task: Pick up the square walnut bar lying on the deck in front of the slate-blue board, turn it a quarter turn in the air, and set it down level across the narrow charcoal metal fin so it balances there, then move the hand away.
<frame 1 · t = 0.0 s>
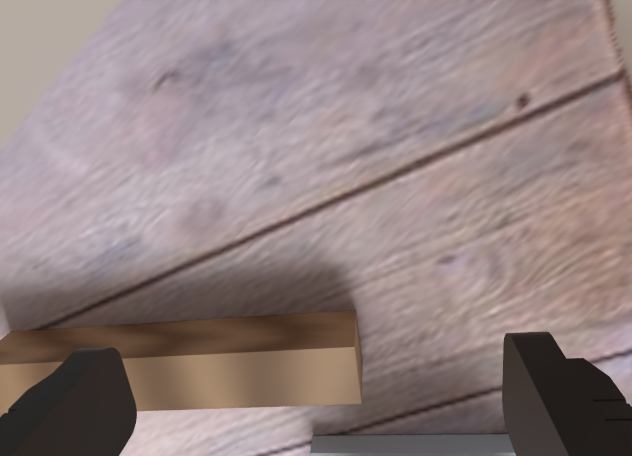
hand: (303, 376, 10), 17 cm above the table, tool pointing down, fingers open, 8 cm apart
walnut bar: (182, 343, 32), on the table
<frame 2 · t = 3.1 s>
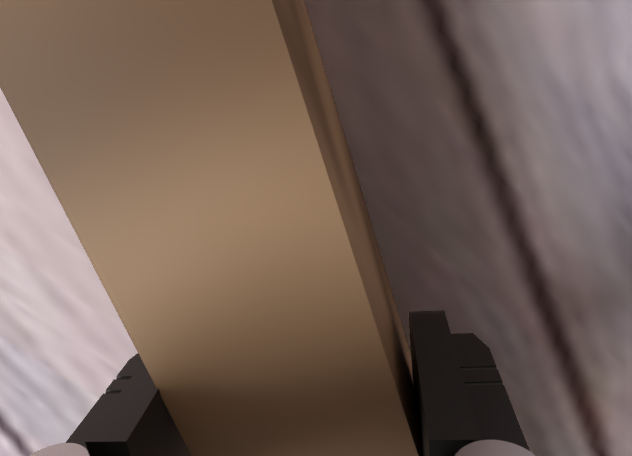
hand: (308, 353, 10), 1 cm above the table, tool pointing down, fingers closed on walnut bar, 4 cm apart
walnut bar: (316, 313, 12), on the table, touching gripper
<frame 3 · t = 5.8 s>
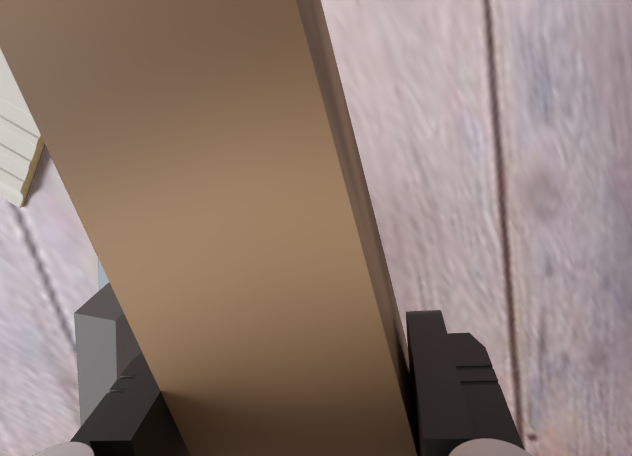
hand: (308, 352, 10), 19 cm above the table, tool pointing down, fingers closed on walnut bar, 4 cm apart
walnut bar: (317, 314, 12), point 18 cm above the table, touching gripper
fulcrum board: (177, 310, 34), on the table
when the fingers open (13 cm above the table, at t = 8.3 s): walnut bar stays where it is, resting on fulcrum board.
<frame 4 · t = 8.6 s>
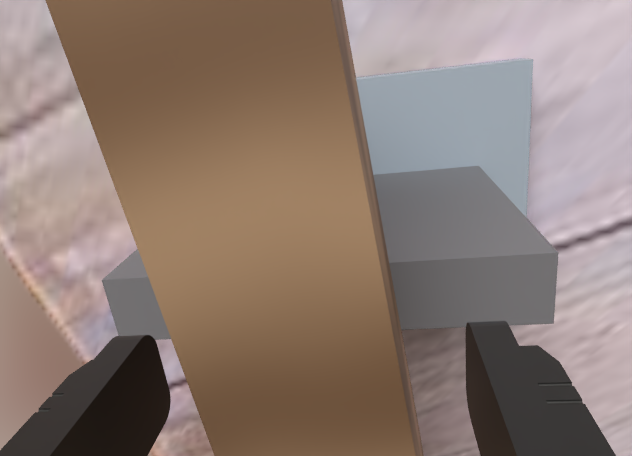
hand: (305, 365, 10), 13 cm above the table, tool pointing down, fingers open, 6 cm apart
walnut bar: (319, 302, 13), point 11 cm above the table, touching fulcrum board
fulcrum board: (341, 190, 22), on the table
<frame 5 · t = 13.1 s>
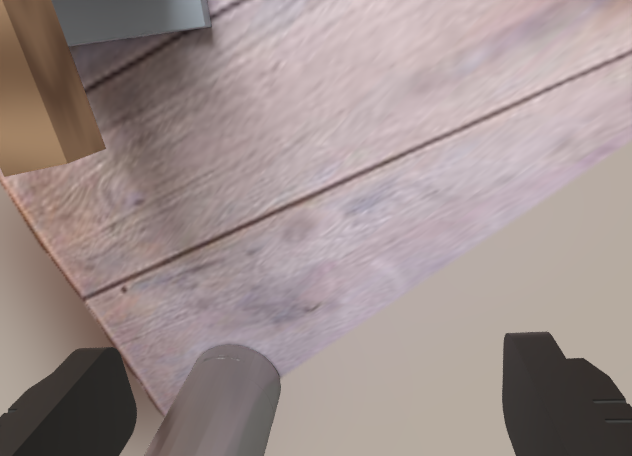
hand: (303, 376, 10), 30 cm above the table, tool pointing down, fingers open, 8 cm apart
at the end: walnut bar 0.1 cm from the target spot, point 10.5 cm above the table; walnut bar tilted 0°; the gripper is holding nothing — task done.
